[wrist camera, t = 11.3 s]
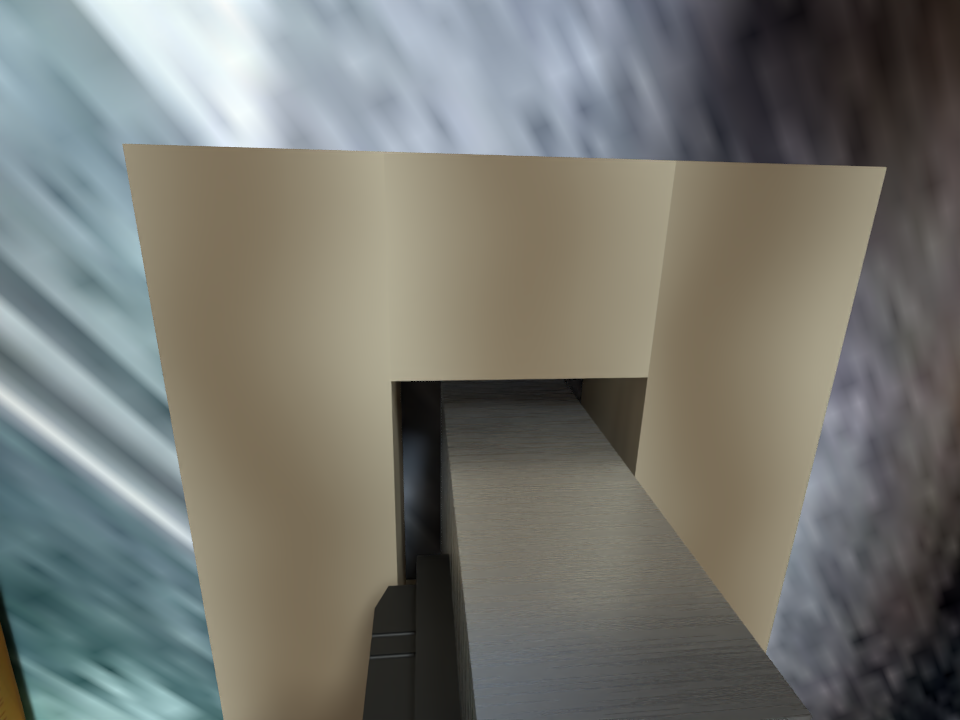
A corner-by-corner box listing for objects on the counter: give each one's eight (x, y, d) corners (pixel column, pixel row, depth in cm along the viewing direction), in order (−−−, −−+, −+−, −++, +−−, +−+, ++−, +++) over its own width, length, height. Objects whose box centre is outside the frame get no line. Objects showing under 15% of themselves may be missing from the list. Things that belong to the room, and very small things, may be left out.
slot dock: (755, 171, 13) (886, 167, 10) (669, 659, 18) (733, 782, 15) (217, 156, 12) (122, 143, 8) (283, 688, 17) (243, 832, 13)
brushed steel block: (560, 376, 13) (812, 715, 5) (545, 574, 15) (707, 1074, 7) (441, 378, 13) (480, 744, 4) (440, 580, 15) (467, 1113, 6)
